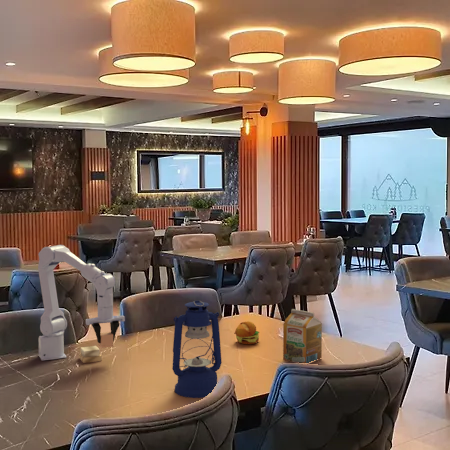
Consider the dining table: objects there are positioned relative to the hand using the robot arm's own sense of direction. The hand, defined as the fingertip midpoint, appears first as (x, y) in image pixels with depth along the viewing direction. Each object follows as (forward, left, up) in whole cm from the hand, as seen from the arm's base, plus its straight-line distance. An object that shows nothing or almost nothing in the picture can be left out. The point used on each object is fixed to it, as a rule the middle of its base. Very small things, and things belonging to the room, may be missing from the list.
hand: (105, 341), depth 233 cm
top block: (-4, +8, -7) cm, 11 cm away
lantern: (+20, -42, -9) cm, 47 cm away
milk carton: (+70, -28, -9) cm, 76 cm away
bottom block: (-4, +8, -9) cm, 13 cm away
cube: (0, 0, -2) cm, 2 cm away
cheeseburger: (+62, +3, -9) cm, 63 cm away
